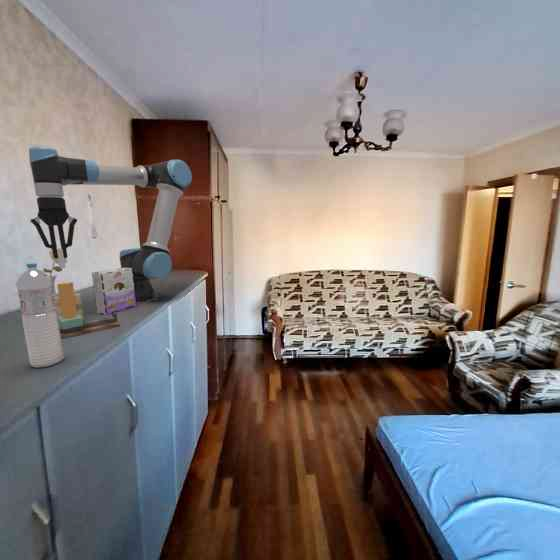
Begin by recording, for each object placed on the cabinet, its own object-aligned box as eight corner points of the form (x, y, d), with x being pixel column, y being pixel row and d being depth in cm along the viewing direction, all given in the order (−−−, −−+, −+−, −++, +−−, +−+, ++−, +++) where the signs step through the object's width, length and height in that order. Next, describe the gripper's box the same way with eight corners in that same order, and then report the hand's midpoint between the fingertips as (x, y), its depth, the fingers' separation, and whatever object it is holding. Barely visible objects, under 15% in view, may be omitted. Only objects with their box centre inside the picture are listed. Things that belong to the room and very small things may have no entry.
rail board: (114, 321, 108) (113, 310, 107) (119, 326, 103) (118, 315, 102) (51, 334, 96) (49, 322, 95) (54, 340, 91) (52, 327, 90)
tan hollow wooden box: (80, 317, 114) (76, 291, 112) (84, 321, 108) (80, 294, 106) (53, 321, 109) (49, 294, 107) (56, 327, 103) (52, 298, 101)
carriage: (79, 320, 101) (73, 280, 98) (83, 325, 95) (77, 283, 93) (59, 324, 97) (53, 282, 95) (62, 329, 92) (55, 285, 89)
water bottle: (58, 366, 74) (41, 264, 69) (24, 370, 72) (5, 266, 67) (68, 355, 80) (54, 261, 76) (38, 358, 78) (21, 262, 74)
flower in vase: (49, 313, 119) (39, 250, 114) (30, 311, 123) (19, 249, 118) (81, 305, 131) (73, 247, 126) (62, 303, 135) (54, 247, 130)
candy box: (127, 305, 131) (123, 267, 128) (137, 306, 128) (133, 267, 125) (96, 313, 118) (91, 271, 116) (106, 315, 116) (100, 272, 113)
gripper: (72, 198, 108) (82, 264, 112) (24, 197, 99) (37, 268, 104) (75, 197, 102) (86, 266, 107) (25, 195, 94) (39, 271, 98)
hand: (62, 267), depth 105 cm, fingers closed
